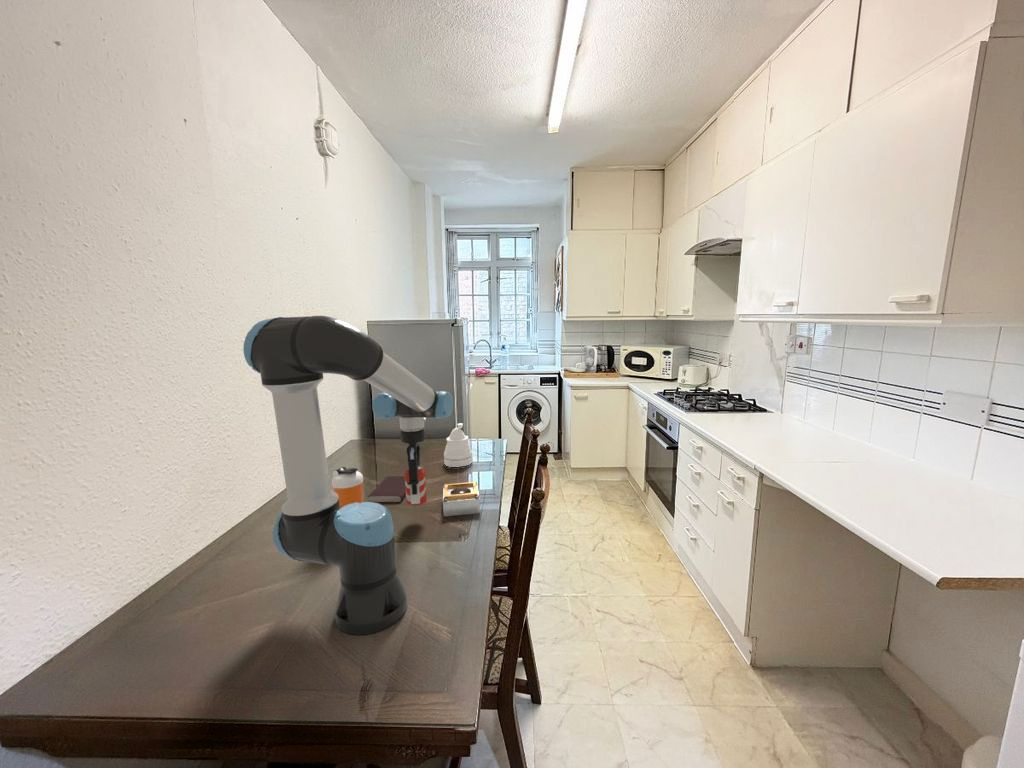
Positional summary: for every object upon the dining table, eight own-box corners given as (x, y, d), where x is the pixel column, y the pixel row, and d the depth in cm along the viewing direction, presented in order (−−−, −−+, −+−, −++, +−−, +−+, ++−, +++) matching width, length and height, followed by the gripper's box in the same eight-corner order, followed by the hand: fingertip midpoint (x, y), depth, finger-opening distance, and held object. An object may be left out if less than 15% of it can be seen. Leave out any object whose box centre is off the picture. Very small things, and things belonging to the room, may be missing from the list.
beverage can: (403, 507, 133) (401, 470, 132) (411, 499, 140) (409, 464, 138) (422, 507, 132) (419, 470, 131) (429, 500, 139) (427, 464, 137)
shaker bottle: (357, 539, 125) (351, 474, 123) (330, 537, 127) (324, 473, 125) (372, 525, 134) (367, 464, 131) (347, 523, 136) (341, 463, 133)
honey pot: (462, 457, 201) (460, 420, 199) (478, 463, 191) (476, 424, 189) (439, 463, 193) (436, 425, 191) (454, 470, 183) (451, 429, 181)
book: (417, 483, 171) (416, 475, 170) (401, 503, 152) (401, 494, 151) (386, 483, 171) (386, 476, 171) (367, 503, 152) (367, 495, 152)
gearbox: (480, 512, 140) (479, 495, 139) (443, 516, 139) (442, 498, 138) (477, 496, 154) (476, 480, 153) (444, 499, 152) (443, 483, 151)
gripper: (422, 434, 124) (426, 510, 127) (426, 422, 143) (429, 488, 146) (396, 436, 123) (401, 512, 126) (403, 423, 142) (407, 489, 145)
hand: (416, 499), depth 136 cm, fingers closed on beverage can, 6 cm apart
